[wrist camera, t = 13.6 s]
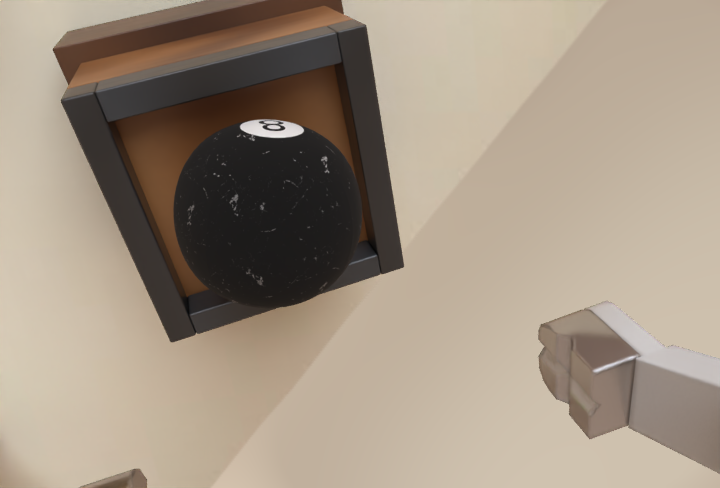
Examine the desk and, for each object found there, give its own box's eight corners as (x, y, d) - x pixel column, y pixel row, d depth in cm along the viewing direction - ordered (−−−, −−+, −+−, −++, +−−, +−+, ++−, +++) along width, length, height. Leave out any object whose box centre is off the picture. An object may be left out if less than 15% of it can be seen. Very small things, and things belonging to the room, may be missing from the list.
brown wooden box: (315, -25, 26) (383, -4, 18) (356, 189, 32) (422, 276, 24) (66, 31, 24) (23, 82, 16) (158, 248, 30) (159, 363, 22)
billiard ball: (175, 255, 22) (181, 354, 17) (166, 96, 19) (170, 157, 14) (328, 247, 24) (375, 333, 19) (341, 101, 21) (399, 156, 16)
